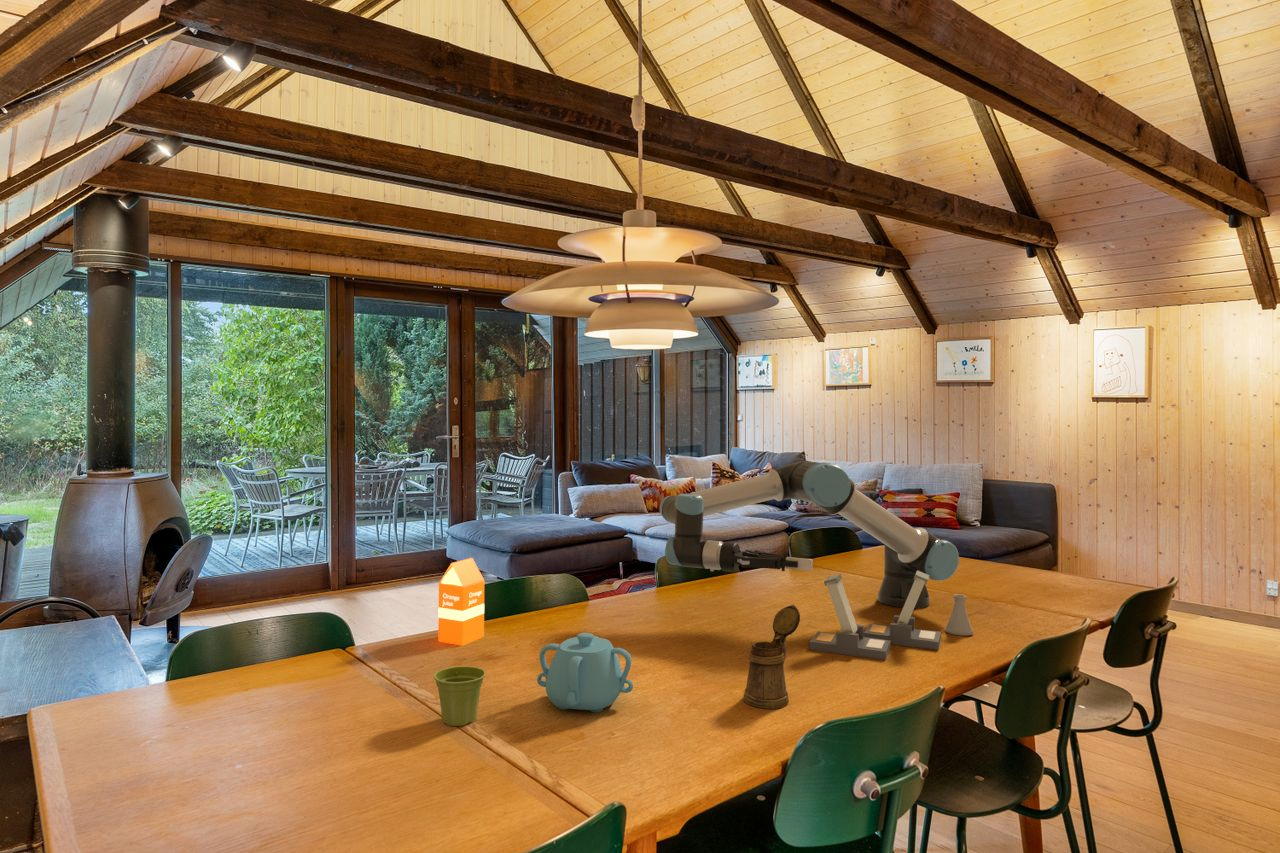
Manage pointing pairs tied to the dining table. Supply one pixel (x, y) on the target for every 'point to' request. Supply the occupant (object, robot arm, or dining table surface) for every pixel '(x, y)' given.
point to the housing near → (851, 644)
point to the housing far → (904, 634)
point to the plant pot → (459, 693)
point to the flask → (959, 618)
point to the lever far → (913, 597)
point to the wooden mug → (771, 664)
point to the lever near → (841, 603)
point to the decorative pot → (584, 673)
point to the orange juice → (461, 604)
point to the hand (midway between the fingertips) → (811, 565)
